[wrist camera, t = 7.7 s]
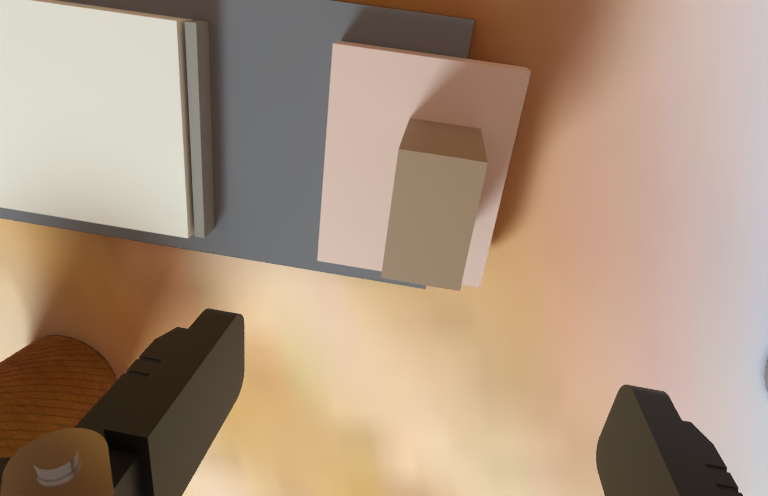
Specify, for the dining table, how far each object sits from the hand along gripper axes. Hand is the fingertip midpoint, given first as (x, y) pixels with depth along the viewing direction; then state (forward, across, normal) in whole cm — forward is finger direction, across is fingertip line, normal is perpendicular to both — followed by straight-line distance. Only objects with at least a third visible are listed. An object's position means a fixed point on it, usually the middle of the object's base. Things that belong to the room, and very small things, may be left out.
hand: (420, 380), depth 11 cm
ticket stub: (+15, +1, 0) cm, 15 cm away
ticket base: (+16, +12, 0) cm, 20 cm away
